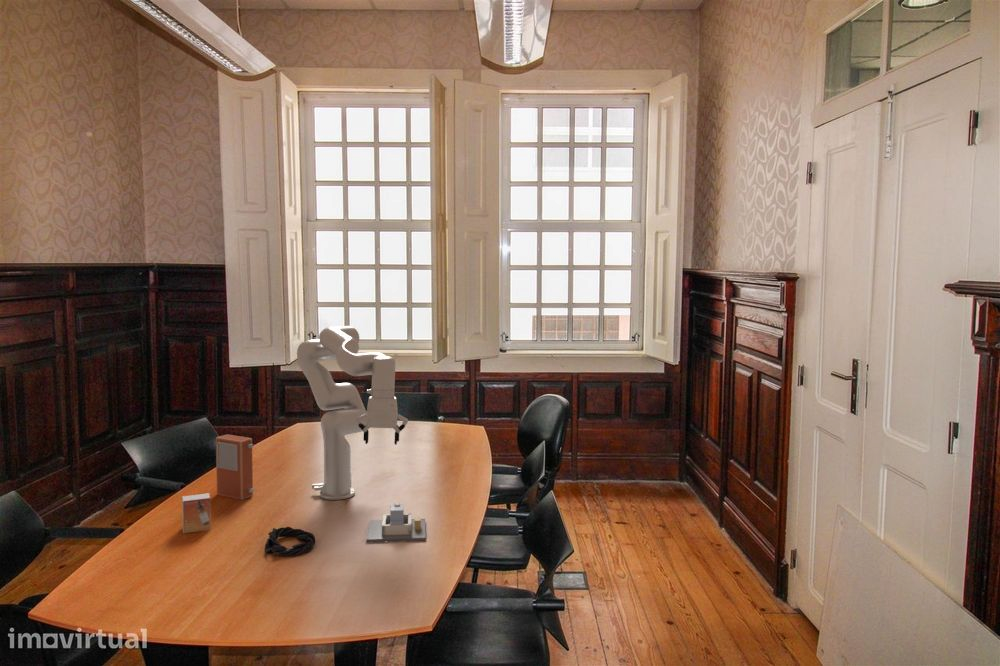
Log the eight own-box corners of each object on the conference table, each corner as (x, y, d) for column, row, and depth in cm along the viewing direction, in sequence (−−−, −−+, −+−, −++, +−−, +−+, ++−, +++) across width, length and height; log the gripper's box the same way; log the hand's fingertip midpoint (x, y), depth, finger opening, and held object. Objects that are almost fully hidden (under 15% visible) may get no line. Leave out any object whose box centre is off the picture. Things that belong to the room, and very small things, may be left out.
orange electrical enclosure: (227, 489, 247) (257, 495, 240) (212, 494, 240) (242, 501, 234) (226, 433, 245) (256, 438, 239) (210, 437, 239) (241, 442, 232)
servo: (390, 534, 204) (390, 511, 203) (391, 522, 214) (391, 500, 213) (403, 534, 205) (403, 511, 204) (403, 522, 214) (403, 500, 214)
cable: (273, 535, 205) (272, 522, 205) (319, 534, 207) (319, 520, 207) (261, 559, 188) (261, 544, 188) (311, 557, 190) (311, 542, 190)
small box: (183, 534, 204) (182, 501, 203) (182, 528, 209) (181, 495, 208) (211, 530, 208) (210, 497, 207) (209, 524, 213) (209, 492, 212)
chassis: (366, 542, 200) (366, 529, 200) (370, 523, 216) (370, 511, 216) (425, 540, 202) (425, 528, 202) (425, 521, 218) (425, 509, 218)
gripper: (355, 395, 215) (353, 445, 217) (408, 396, 217) (406, 447, 219) (357, 390, 222) (356, 439, 224) (409, 391, 224) (407, 440, 226)
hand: (381, 443), depth 222 cm, fingers open, 9 cm apart
